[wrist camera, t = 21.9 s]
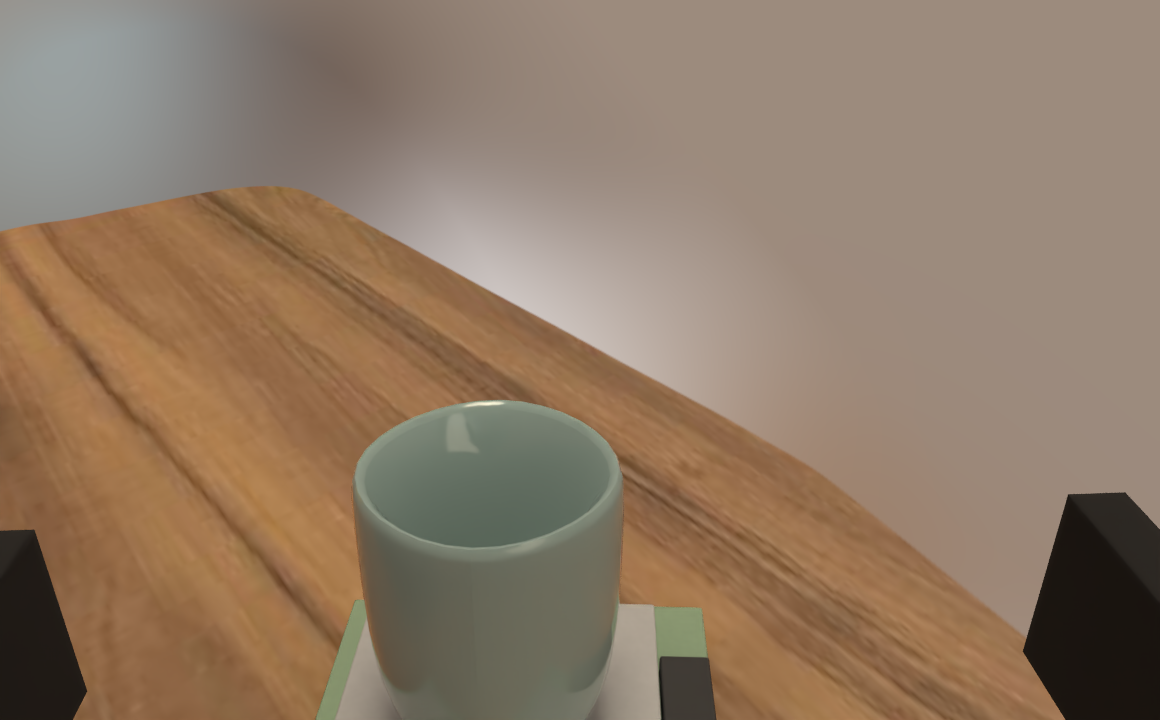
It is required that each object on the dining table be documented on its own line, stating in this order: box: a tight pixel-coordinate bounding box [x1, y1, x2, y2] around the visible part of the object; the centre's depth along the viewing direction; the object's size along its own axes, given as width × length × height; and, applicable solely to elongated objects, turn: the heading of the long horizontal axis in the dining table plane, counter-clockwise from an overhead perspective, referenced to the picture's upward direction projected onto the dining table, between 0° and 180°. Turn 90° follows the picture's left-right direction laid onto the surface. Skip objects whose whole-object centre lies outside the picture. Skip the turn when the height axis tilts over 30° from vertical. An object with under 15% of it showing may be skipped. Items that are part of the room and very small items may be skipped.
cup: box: [351, 400, 624, 720], centre depth 31 cm, size 8×8×10 cm
